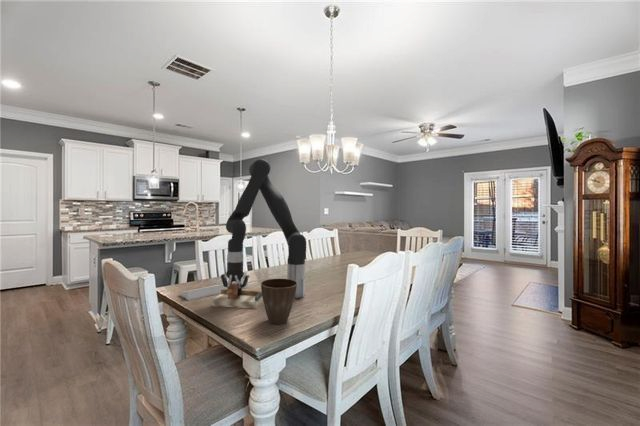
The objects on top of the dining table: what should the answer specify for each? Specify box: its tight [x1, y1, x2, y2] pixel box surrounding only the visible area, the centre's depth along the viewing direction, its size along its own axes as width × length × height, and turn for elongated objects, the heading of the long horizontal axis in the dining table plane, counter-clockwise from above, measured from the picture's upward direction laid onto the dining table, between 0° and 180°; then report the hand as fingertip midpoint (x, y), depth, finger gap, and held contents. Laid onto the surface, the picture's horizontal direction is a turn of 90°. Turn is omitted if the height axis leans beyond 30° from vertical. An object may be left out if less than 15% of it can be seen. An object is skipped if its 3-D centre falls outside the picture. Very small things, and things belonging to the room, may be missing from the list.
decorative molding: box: [179, 279, 249, 301], centre depth 163 cm, size 34×5×10 cm
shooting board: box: [211, 289, 263, 309], centre depth 145 cm, size 21×11×5 cm, turn 85°
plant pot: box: [260, 278, 297, 325], centre depth 124 cm, size 15×15×16 cm
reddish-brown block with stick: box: [226, 283, 240, 300], centre depth 142 cm, size 4×12×6 cm, turn 174°
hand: (234, 295), depth 145 cm, fingers closed on reddish-brown block with stick, 4 cm apart
